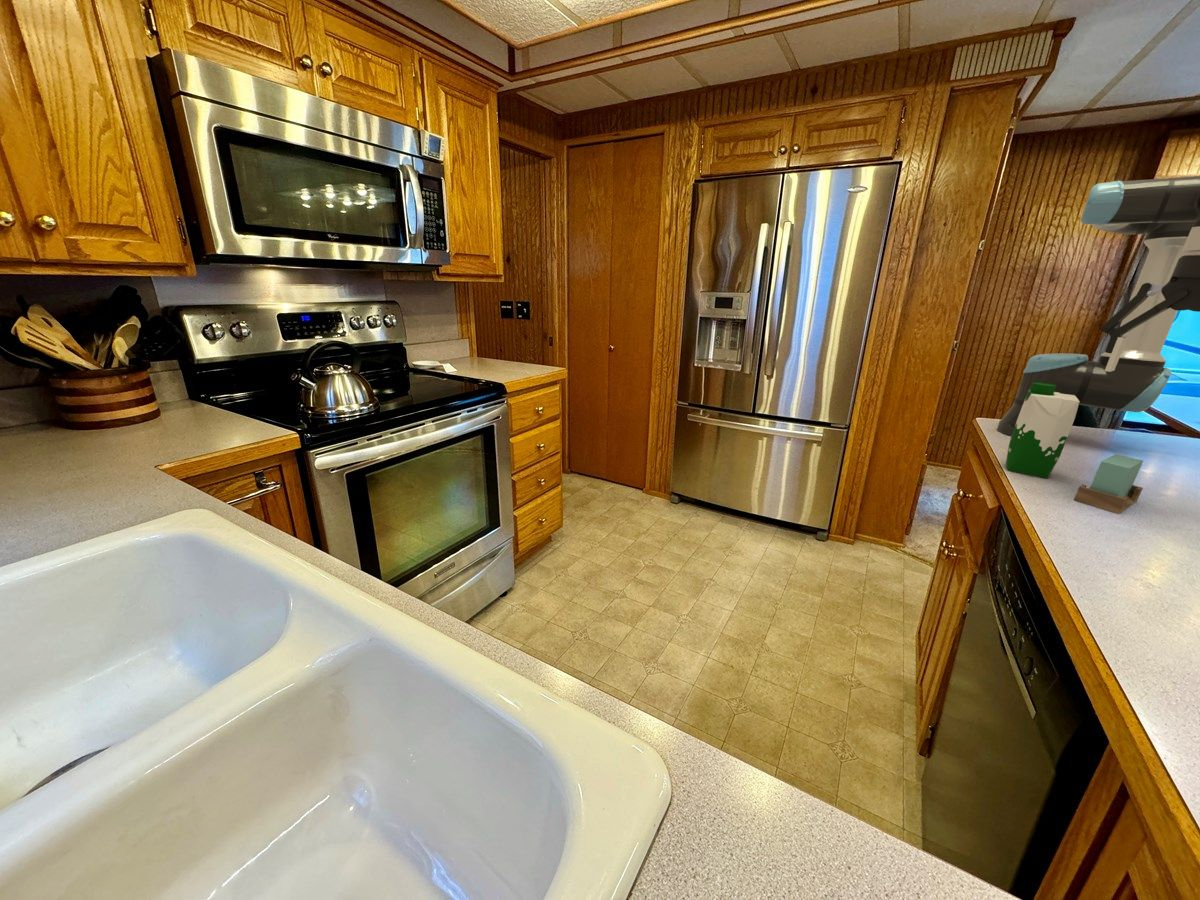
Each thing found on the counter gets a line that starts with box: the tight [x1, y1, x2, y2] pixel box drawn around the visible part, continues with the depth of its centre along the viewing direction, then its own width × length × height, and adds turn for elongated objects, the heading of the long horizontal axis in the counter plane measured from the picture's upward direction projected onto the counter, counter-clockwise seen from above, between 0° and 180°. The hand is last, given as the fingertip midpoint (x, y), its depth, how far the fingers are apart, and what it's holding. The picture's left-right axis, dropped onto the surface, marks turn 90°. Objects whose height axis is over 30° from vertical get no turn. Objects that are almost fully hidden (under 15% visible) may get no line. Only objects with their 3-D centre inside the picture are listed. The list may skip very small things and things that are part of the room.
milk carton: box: [1005, 382, 1080, 479], centre depth 108 cm, size 9×9×20 cm
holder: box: [1073, 484, 1144, 515], centre depth 96 cm, size 12×7×3 cm, turn 121°
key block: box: [1089, 453, 1144, 498], centre depth 95 cm, size 9×4×8 cm, turn 121°
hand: (1159, 377), depth 89 cm, fingers open, 13 cm apart
